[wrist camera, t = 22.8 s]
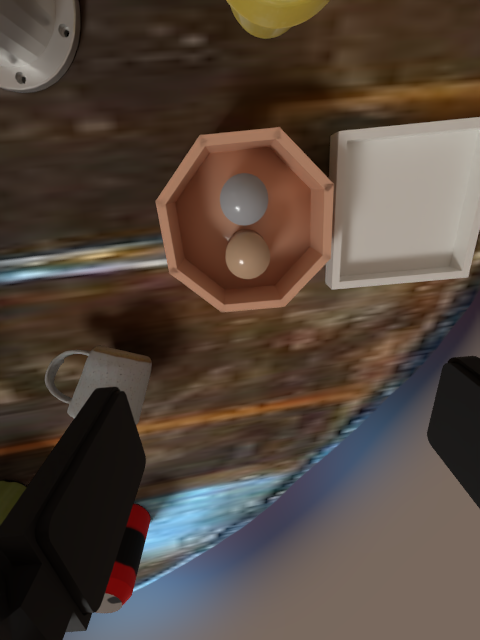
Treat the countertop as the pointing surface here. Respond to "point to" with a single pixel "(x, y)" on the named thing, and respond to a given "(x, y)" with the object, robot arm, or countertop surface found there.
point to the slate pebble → (244, 199)
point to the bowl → (274, 226)
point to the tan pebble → (247, 254)
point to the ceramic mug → (105, 377)
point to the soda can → (126, 561)
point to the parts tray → (404, 203)
